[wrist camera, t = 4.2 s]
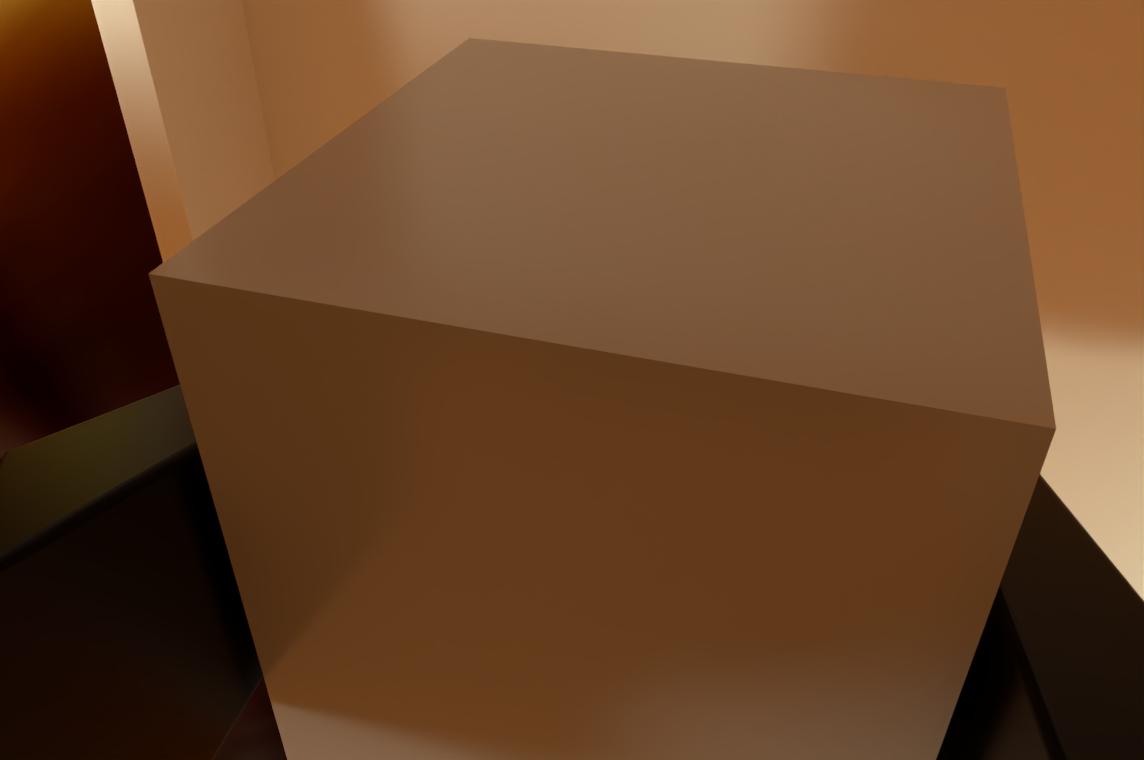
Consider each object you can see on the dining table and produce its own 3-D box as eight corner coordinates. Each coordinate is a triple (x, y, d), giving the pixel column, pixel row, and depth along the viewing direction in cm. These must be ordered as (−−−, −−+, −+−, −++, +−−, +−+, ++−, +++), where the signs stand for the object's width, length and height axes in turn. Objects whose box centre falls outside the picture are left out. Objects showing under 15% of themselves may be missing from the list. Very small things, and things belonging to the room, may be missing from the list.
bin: (320, 490, 19) (250, 580, 17) (108, -567, 11) (-81, -625, 9) (1167, 679, 16) (1198, 820, 14) (1933, -709, 7) (2323, -865, 5)
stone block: (492, 433, 13) (290, 768, 9) (469, 38, 10) (147, 275, 6) (895, 513, 11) (869, 944, 7) (1004, 87, 8) (1055, 429, 5)
